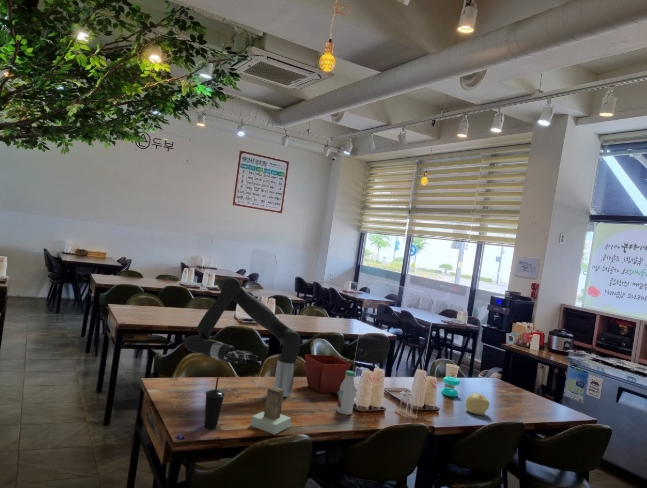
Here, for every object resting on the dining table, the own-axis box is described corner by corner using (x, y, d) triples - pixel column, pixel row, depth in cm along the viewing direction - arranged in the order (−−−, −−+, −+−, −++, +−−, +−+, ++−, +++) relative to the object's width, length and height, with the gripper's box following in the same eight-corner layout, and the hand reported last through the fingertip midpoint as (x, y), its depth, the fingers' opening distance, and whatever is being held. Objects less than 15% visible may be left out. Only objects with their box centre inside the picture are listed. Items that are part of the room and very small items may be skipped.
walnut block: (270, 413, 218) (274, 386, 218) (279, 417, 216) (284, 389, 216) (263, 416, 214) (267, 388, 214) (273, 420, 212) (277, 391, 212)
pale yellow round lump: (490, 417, 275) (493, 398, 275) (470, 415, 273) (473, 396, 273) (480, 410, 286) (483, 391, 286) (460, 408, 284) (464, 389, 284)
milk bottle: (353, 411, 250) (360, 371, 250) (349, 416, 243) (355, 375, 242) (339, 407, 252) (345, 368, 252) (334, 412, 245) (340, 371, 245)
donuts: (449, 380, 302) (440, 375, 311) (446, 397, 302) (437, 391, 311) (463, 381, 305) (454, 376, 314) (461, 398, 305) (451, 392, 315)
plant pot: (328, 383, 292) (333, 354, 292) (346, 395, 276) (351, 364, 276) (299, 384, 282) (304, 354, 282) (316, 396, 266) (321, 364, 266)
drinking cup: (202, 422, 208) (209, 374, 208) (220, 424, 209) (228, 376, 209) (199, 429, 201) (206, 379, 200) (218, 431, 201) (226, 382, 201)
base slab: (266, 418, 223) (268, 409, 223) (289, 427, 218) (291, 417, 218) (250, 425, 213) (252, 416, 212) (274, 434, 207) (275, 424, 207)
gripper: (213, 346, 226) (243, 354, 218) (233, 341, 238) (261, 349, 231) (211, 362, 226) (241, 371, 218) (231, 357, 239) (259, 365, 231)
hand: (251, 360), depth 225 cm, fingers open, 8 cm apart
